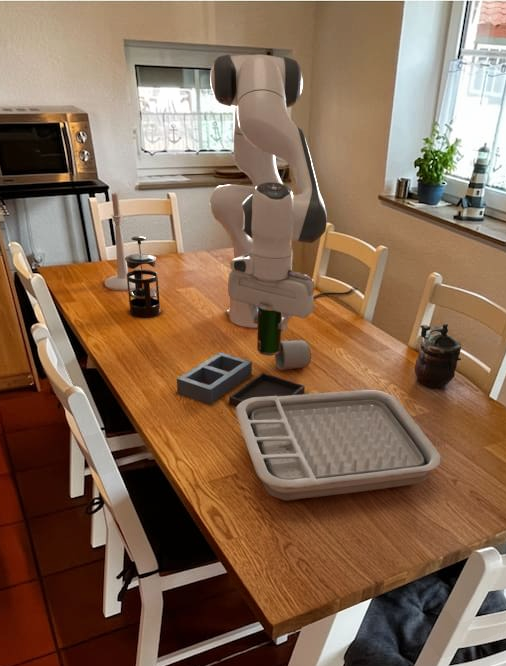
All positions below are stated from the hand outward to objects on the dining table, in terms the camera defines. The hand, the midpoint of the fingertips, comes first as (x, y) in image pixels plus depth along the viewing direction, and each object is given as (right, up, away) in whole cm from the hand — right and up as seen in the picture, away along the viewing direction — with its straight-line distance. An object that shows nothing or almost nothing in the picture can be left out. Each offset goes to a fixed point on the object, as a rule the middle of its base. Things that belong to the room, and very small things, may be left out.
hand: (269, 326), depth 133 cm
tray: (-1, -16, +10) cm, 19 cm away
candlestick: (-55, +26, +70) cm, 93 cm away
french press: (-42, +13, +50) cm, 67 cm away
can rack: (-14, -12, +14) cm, 24 cm away
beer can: (0, -5, +3) cm, 6 cm away
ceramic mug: (+4, -6, +26) cm, 27 cm away
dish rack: (+14, -30, -10) cm, 35 cm away
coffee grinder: (+41, -11, +23) cm, 48 cm away
